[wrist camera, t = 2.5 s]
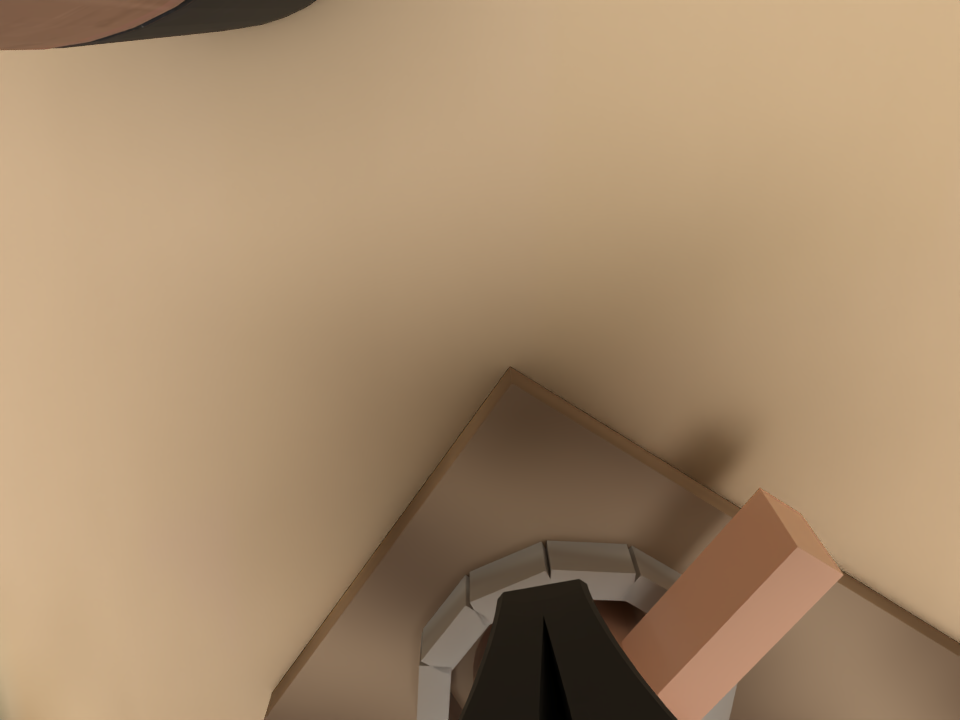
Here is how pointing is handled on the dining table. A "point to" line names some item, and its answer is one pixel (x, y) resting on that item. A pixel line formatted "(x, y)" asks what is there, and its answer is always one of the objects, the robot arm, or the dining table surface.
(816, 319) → the dining table surface
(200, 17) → the travel mug
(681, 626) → the cylinder with stick handle
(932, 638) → the board
